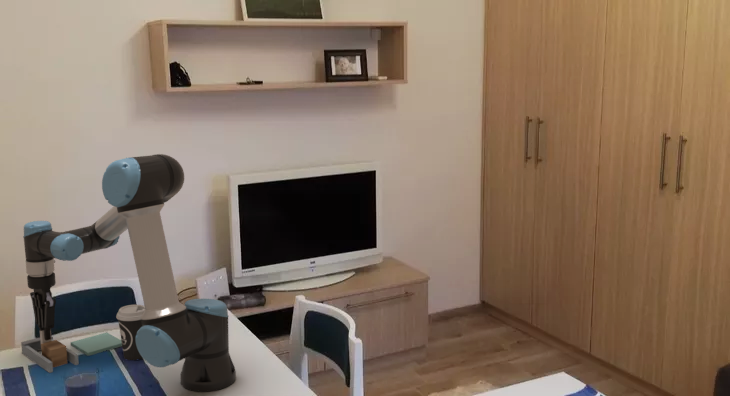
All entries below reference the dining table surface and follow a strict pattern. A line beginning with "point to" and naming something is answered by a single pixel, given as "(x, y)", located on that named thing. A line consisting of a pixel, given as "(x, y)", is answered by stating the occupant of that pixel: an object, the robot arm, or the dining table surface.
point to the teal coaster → (97, 344)
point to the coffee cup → (130, 329)
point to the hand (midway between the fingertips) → (46, 348)
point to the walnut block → (55, 352)
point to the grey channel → (31, 352)
